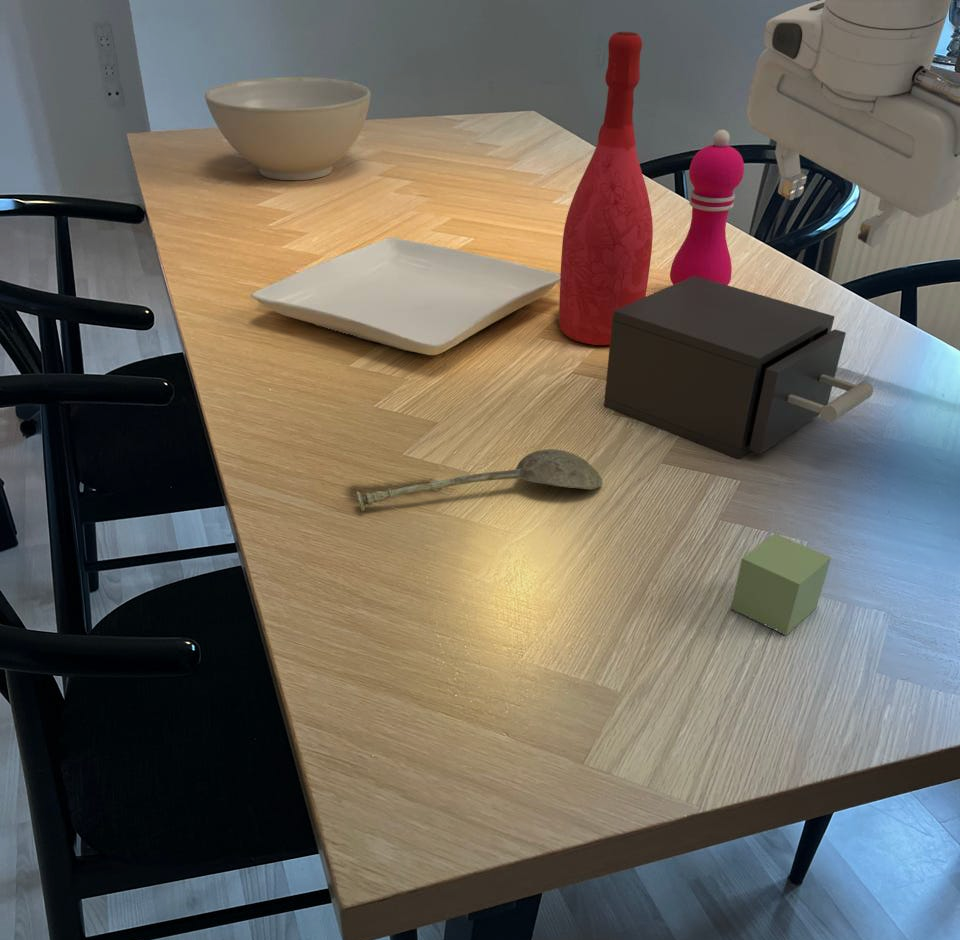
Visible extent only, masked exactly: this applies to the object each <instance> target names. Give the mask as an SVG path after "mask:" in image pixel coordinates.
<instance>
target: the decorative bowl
mask: <svg viewBox="0 0 960 940" xmlns="http://www.w3.org/2000/svg"><path fill="white" fill-rule="evenodd" d="M371 96H372V93H371V90H370V89H369V88H368V87H367V86H365V85H363V84H360V83H357V82H354V81H349V80H344V79H336V78H327V77H311V76H310V77H309V76H278V77H277V76H276V77H262V78H261V77H260V78H250V79H242V80H237V81H231V82H227V83H222V84H219V85H217V86H214V87H212V88H210V89H208V90H207V91H206V92H205V94H204V98H205V102H206V105H207V108H208V110H209V112H210V114H211V117H212V119H213V121H214V122H215V125H216V126H217V128H218V129H219V131H220V133H221V134H222V136H223V137H224V139H225V140H226V141H227V142H228V144H229V145H230V146H231V147H232V148H233V149H234V150H235V151H236V152H237V154H239V155H240V156H241V157H242V158H244V159H245V160H247V161H248V162H250V163H251V164H253V165H254V166H256V167H258V171H259V173H260V175H262V176H263V177H265V178H268V179H272V180H273V179H274V180H277V181H278V180H279V181H306V180H314V179H320V178H324V177H326V176H328V175H329V174H331V173H332V172H333V166H334V164H336V163H337V162H338V161H340V160H341V159H343V157H344V156H345V155H346V154H347V153H348V152H349V151H350V150H351V149H352V147H353V146H354V145H355V143H356V141H358V138H359V136H360V134H361V132H362V130H363V127H364V124H365V122H366V119H367V116H368V112H369V108H370V104H371Z"/></svg>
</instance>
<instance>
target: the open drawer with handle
mask: <svg viewBox="0 0 960 940" xmlns="http://www.w3.org/2000/svg"><path fill="white" fill-rule="evenodd" d="M846 334H847V332H846V331H842V330H839V329H831V332H829V333H827V334H825V335H824V336H822V337H820V338H818V339H817V340H815V341H814V336H815V335H814V336H812V337H811V338H809V339H807V340H805V341H804V342H802V343H800V344H798V345H796V346H795V347H793V348H791V349H789V350H788V351H786V352H784V353H782V354H781V355H779V356H777V357H775V358H774V359H772V360H770V361H768V362H767V363H765V364H763V365H762V368H761V373H760V378H759V383H758V388H757V393H756V398H755V403H754V408H753V412H752V417H751V422H750V427H749V432H748V433H750V432H751V431H753V433H752V438H751V443H750V448H749V450H751V451H750V452H754V453H757V454H759V455H760V454H763V453H764V452H766V451H767V450H768V449H770V448H771V447H773V446H774V445H776V444H777V443H779V442H781V441H783V440H784V439H785V438H786V437H788V436H789V435H791V434H792V433H794V432H795V431H797V430H798V429H800V428H802V427H803V426H805V425H806V424H807V423H809V422H811V421H812V420H813V419H815V418H817V417H818V416H820V418H821V420H822V421H823V422H825V423H828V424H832V423H834V422H835V421H837V420H839V419H841V417H843V416H844V415H846V414H847V413H849V412H850V411H852V410H853V409H854V408H856V407H858V406H859V405H861V404H862V403H863V402H865V401H866V400H867V399H869V398H871V396H872V395H873V393H874V389H873V385H872V384H871V383H870V382H868V381H860V382H859V383H857V384H855V383H853V382H852V383H851V382H848V381H845V380H842V379H839V378H837V377H836V373H837V370H838V365H839V361H840V357H841V355H842V350H843V346H844V341H845V338H846ZM833 387H834V388H837V389H840V390H843V391H845V392H843V393H842V394H840V395H839V396H837V397H836V398H834V399H832V400H831V401H830V402H829V400H830V397H831V393H832V389H833Z"/></svg>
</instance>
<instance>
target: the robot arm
mask: <svg viewBox="0 0 960 940" xmlns="http://www.w3.org/2000/svg"><path fill="white" fill-rule="evenodd" d="M952 2H953V0H816V1H813V2H809V3H806V4H804V5H800V6H798V7H794V8H792V9H790V10H787V11H785V12H783V13H779V14H778V15H776V16H774V17H771V18H770V19H769V20H768V21H767V22H766V26H765V28H764V34H763V42H764V45H765V47H767V48H765V49H764V50H763V51H762V53H761V54H760V56H759V58H758V60H757V62H756V66H755V69H754V73H753V76H752V77H753V78H752V80H751V81H752V82H751V85H750V91H749V96H748V101H747V110H746V112H747V118H748V120H749V124H750V127H751V128H752V130H754V131H756V132H757V133H758V134H759V133H760V134H761V135H763V136H765V137H767V138H769V139H771V140H772V141H773V142H775V143H776V146H775V151H774V155H775V159H776V163H777V167H778V172H779V176H780V180H779V183H778V189H777V193H778V195H780V196H782V197H784V198H786V199H788V200H789V201H793V200H794V199H798V198H800V197H801V196H802V195H803V194H804V192H805V185H806V183H807V178H808V176H807V175H806V174H804V173H802V169H801V163H800V162H801V160H800V156H802V157H803V158H806V159H807V160H809V161H811V162H813V163H815V164H817V166H818V165H819V166H820V167H822V168H824V169H826V170H828V171H830V172H831V173H833V174H835V175H837V176H839V177H840V178H842V179H844V180H846V181H848V182H850V183H852V184H854V185H856V186H857V187H859V188H861V189H863V190H865V191H867V192H868V193H870V194H872V195H874V196H876V197H878V198H879V203H878V206H877V209H878V210H880V211H881V212H882V213H880V214H879V215H878V214H875V215H873V216H871V217H870V218H867V219H864V220H863V221H861V224H860V228H859V231H860V232H859V233H858V234H857V240H858V241H860V242H862V243H864V244H866V245H867V246H869V247H871V248H873V247H875V246H877V245H880V244H881V243H882V242H883V241H884V240H885V238H886V235H887V233H888V229H889V226H890V224H891V223H893V222H894V221H895V220H896V219H897V218H899V216H900V215H902V214H903V213H904V212H905V213H907V214H909V215H911V216H913V217H915V218H918V219H920V218H924V217H926V216H929V215H931V214H933V213H936V212H938V211H940V210H942V209H943V208H945V207H947V206H948V205H949V204H951V203H952V202H954V200H955V199H956V198H957V195H958V193H959V190H960V83H957V82H953V81H950V80H948V79H947V78H945V77H943V76H942V75H940V74H938V73H936V72H934V71H931V67H932V63H933V61H934V57H935V54H936V52H937V49H938V45H939V43H940V39H941V36H942V32H943V30H944V26H945V24H946V20H947V17H948V13H949V11H950V8H951V4H952Z"/></svg>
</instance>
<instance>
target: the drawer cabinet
mask: <svg viewBox="0 0 960 940" xmlns="http://www.w3.org/2000/svg"><path fill="white" fill-rule="evenodd" d="M834 321H835V315H832V314H830V313H829V314H828V313H825V312H821V311H818V310H816V309H815V310H814V309H811V308H807V307H804V306H800V305H798V304H793V303H790V302H786V301H783V300H780V299H777V298H772V297H769V296H766V295H763V294H760V293H756V292H752V291H749V290H745V289H741V288H738V287H735V286H732V285H729V284H728V285H724V284H721V283H718V282H714V281H711V280H707V279H704V278H700V277H697V276H692V277H690V278H688V279H685V280H683V281H681V282H679V283H676V284H674V285H673V284H672V285H670V286H667V287H665V288H663V289H660V290H657V291H655V292H653V293H651V294H649V295H646V297H644V298H642V299H639V300H637V301H635V302H632V303H630V304H628V305H626V306H623V307H621V308H619V309H616V310H614V311H613V320H612V328H611V339H610V345H609V349H608V360H607V370H606V379H605V390H604V400H603V406H604V407H605V408H608V409H611V410H613V411H615V412H619V413H621V414H622V415H626V416H629V417H631V418H633V419H635V420H636V419H637V420H639V421H641V422H644V423H646V424H649V425H652V426H654V427H656V428H659V429H662V430H664V431H667V432H669V433H672V434H674V435H677V436H679V437H682V438H684V439H687V440H690V441H692V442H695V443H697V444H698V445H699V444H700V445H702V446H704V447H707V448H709V449H712V450H715V451H716V452H717V451H718V452H720V453H722V454H725V455H728V456H730V457H733V458H735V459H738V460H739V459H741V458H742V457H744V456H746V455H747V454H749V453H750V452H752V451H751V450H749V448H750V443H751V438H752V433H753V431H751V432H750V433H748V432H749V427H750V422H751V417H752V412H753V408H754V403H755V398H756V393H757V388H758V383H759V378H760V373H761V368H762V365H763V364H765V363H767V362H768V361H770V360H772V359H774V358H775V357H777V356H779V355H781V354H782V353H784V352H786V351H788V350H789V349H791V348H793V347H795V346H796V345H798V344H800V343H802V342H804V341H805V340H807V339H809V338H811V337H812V336H814V335H815V336H814V341H815V340H817V339H818V338H820V337H822V336H824V335H825V334H827V333H829V332H831V331H832V330H833V324H834Z"/></svg>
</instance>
